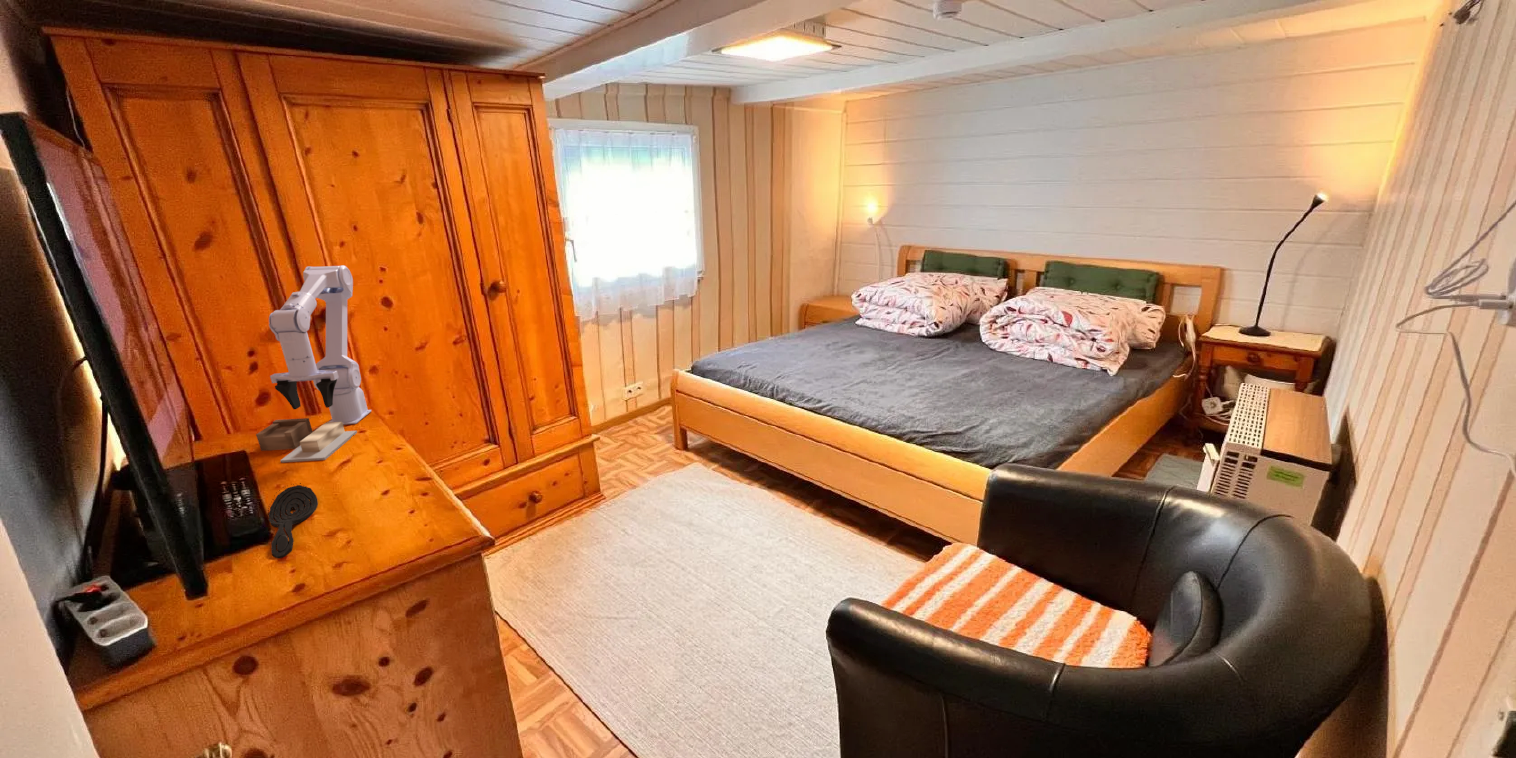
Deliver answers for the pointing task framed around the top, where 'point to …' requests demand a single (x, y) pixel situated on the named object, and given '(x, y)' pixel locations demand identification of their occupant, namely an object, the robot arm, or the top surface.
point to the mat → (323, 454)
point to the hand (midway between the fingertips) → (313, 406)
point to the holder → (284, 434)
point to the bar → (322, 437)
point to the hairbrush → (290, 515)
